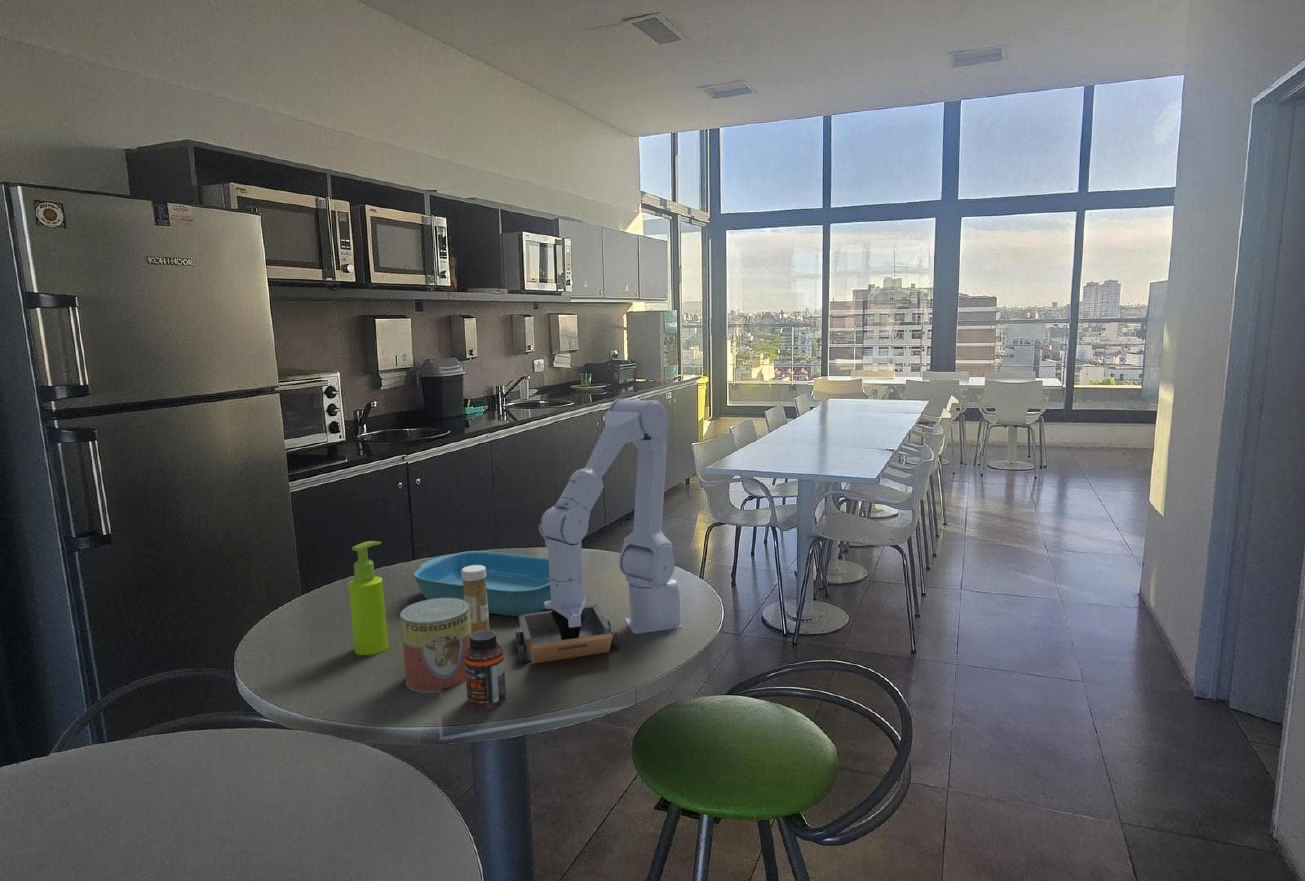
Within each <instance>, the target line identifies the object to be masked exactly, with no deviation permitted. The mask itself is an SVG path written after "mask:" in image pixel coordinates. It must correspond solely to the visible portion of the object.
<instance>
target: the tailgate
mask: <svg viewBox="0 0 1305 881" xmlns="http://www.w3.org/2000/svg"><path fill="white" fill-rule="evenodd" d="M612 638H613V636H612V633H609V634H602V635H595V636H588V637H581V638H574V639H567V640H560V641H553V642H546V643H540V644H533V645H532V655H531V661H530V662H531V664H538V663H544V662H551V661H557V660H564V659H570V658H578V657H584V656H590V655H591V656H592V655H597V654H603V653H605V654H606V653H609V652H610V650H611V649H610V646H611V642H612Z"/></svg>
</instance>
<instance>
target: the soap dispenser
mask: <svg viewBox="0 0 1305 881" xmlns="http://www.w3.org/2000/svg"><path fill="white" fill-rule="evenodd" d="M382 543H383V542H382V541H377V540H368V541H367V540H366V541H364V542H363V541H362V542H361V543H358V544H356V545H354V546H352V547H351V549H352V551H355V552H357V561H355V562H354V563H353V574H354V579H352V580H350V581H349V582H348V583H347V586H348V597H349V598H348V599H349V606H350V607H349V608H350V617H351V626H352V635H353V636H352V637H353V646H354V648H353V649H354V653H355V654H356V655H357V656H363V655H367V656H372V655H373V656H374V655H378V654H380V653H383V652H385V651H386V650H387V649H388V648H389V638H388V627H387V616H386V615H387V614H386V607H385V605H386V604H385V603H386V602H385V593H384V584H383V578H382V577H381V576H377V575H376V574H375V567H374V566H375V565H374V561H373V560H371V559H369V553H368V548H371V547H374V546H378V545H381V544H382ZM382 651H383V652H382Z"/></svg>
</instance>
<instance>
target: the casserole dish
mask: <svg viewBox="0 0 1305 881" xmlns="http://www.w3.org/2000/svg"><path fill="white" fill-rule="evenodd" d="M471 565H482V566H484V567H485V568H486V592H487V601H488V613H489V614H493V615H500V616H501V615H502V616H511V617H519V615H523V614H530V613H538V612H543V611H544V610H547V609H546V608H545V606H544V602H545V601H550V600H551V592H550V577H549V560H548V557H543V556H542V557H541V556H534V555H523V554H515V553H506V552H498V551H497V552H496V551H486V550H485V551H484V550H471V551H470V550H467V551H462V552H458V553H457V552H456V553H452V554H449V555H444V556H443V555H442V556H439V557H435V558H432V559H429V560H426V561H425V562H423V563H421V564H420V565H419V568H418V569H417V570H416V571H414V573H413V576H414V578H415V581H416V583H417V586H418V587H419V591H420V592H421V594H422V595H423V597H424V598H425V600H428V599H434V598H459V599H463V600H464V589H463V581H462V576H461V570H462V569H463V568H464V567H467V566H471Z"/></svg>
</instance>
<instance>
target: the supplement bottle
mask: <svg viewBox="0 0 1305 881" xmlns="http://www.w3.org/2000/svg"><path fill="white" fill-rule="evenodd" d="M504 655H505V654H504V649H503V646H502V645H501V644H500V643H498V642H497V633H496V632H495V631H494V630H491V629H490V630H480V631H476V632H474V633H472V634H471V635H470V646H469V647H468V648H467V649H466V651H465V656H464V657H465V672H466V681H465V683H466V684H465V686H466V699H467V705H468V706H469V707H470V708H472V709H475V710H489V709H493V708H497V707H498V706H500V705H502V704H503V703H505V701H506V700H507V690H506V687H507V686H506V672H505V660H504V659H505V657H504Z"/></svg>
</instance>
